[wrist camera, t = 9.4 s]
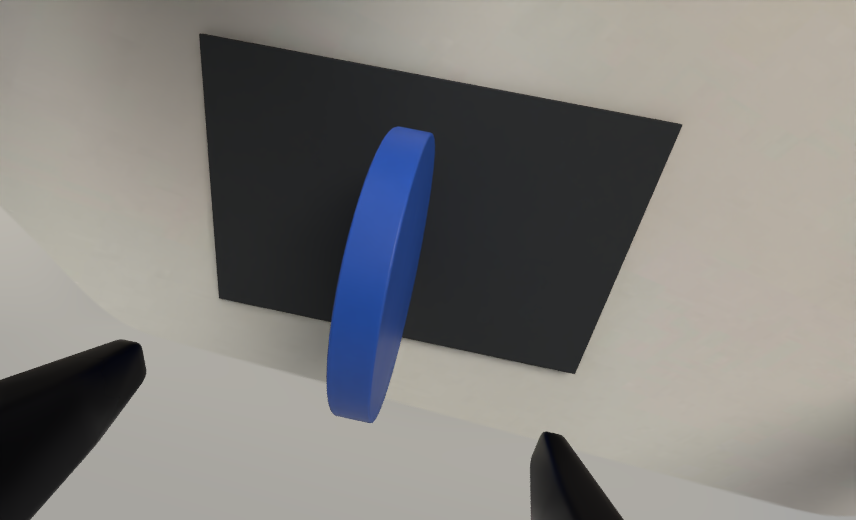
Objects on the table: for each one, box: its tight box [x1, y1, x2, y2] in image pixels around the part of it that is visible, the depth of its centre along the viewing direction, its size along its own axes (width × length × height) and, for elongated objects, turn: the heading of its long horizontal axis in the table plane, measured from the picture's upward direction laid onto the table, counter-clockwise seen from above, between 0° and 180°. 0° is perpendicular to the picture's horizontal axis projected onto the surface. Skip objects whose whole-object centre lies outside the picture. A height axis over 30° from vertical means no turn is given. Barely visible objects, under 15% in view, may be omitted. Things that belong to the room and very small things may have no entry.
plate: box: [326, 126, 435, 423], centre depth 14 cm, size 1×10×10 cm, turn 170°
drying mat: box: [199, 34, 682, 374], centre depth 19 cm, size 13×20×1 cm, turn 80°
